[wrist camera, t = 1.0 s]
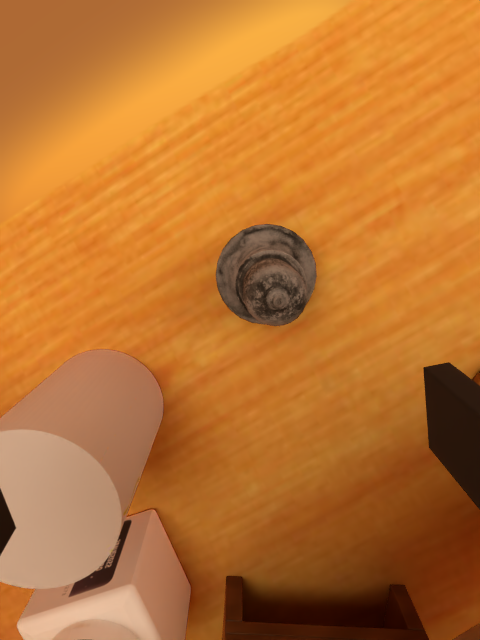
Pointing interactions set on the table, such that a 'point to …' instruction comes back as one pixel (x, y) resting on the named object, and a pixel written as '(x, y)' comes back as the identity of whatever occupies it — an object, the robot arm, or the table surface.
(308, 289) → the salt shaker
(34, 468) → the beige cylinder
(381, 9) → the table surface
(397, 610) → the spice rack
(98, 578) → the container
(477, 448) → the robot arm
